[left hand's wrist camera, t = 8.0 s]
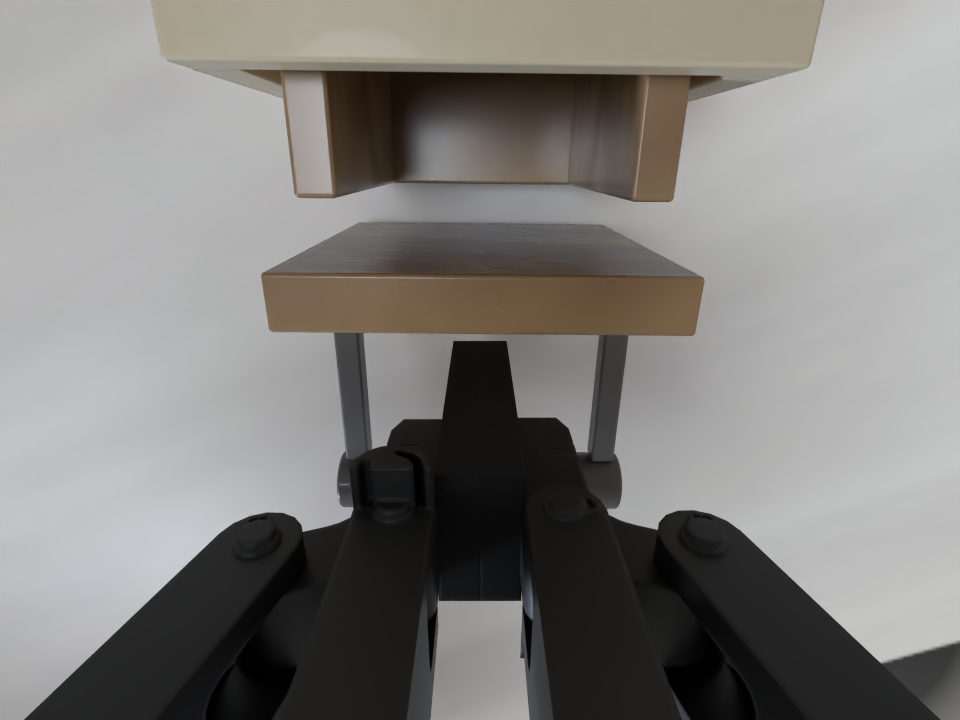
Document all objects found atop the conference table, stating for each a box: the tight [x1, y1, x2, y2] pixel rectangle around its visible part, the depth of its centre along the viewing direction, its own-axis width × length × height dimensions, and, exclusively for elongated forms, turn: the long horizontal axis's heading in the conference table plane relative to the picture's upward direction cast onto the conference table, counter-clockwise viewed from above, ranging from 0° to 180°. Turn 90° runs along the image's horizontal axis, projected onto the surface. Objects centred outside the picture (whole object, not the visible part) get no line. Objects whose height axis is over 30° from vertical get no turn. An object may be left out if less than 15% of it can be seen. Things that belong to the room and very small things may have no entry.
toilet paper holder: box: [261, 70, 704, 509], centre depth 12 cm, size 21×8×8 cm, turn 179°
